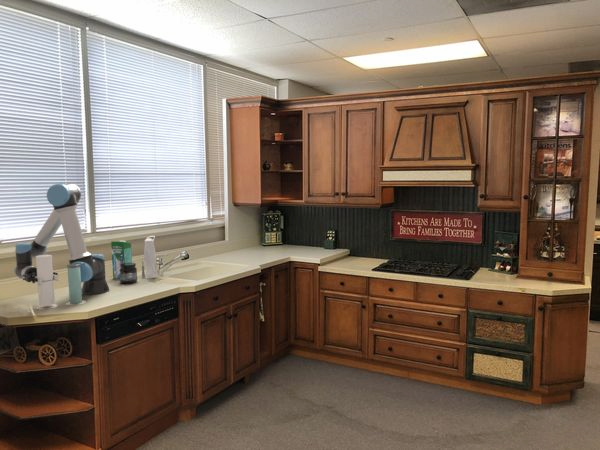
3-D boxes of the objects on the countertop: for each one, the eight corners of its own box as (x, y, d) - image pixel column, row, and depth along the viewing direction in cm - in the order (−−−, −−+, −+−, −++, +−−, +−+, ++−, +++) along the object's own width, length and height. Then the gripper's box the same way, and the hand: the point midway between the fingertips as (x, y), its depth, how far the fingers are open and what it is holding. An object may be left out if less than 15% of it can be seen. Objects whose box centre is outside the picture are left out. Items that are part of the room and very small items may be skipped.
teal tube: (81, 300, 262) (79, 263, 260) (83, 302, 257) (81, 265, 255) (68, 302, 259) (66, 264, 257) (70, 304, 253) (67, 266, 251)
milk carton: (132, 276, 333) (130, 239, 330) (125, 278, 324) (123, 241, 322) (120, 275, 335) (119, 239, 332) (113, 278, 326) (111, 241, 324)
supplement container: (128, 280, 320) (127, 262, 319) (141, 281, 316) (140, 263, 315) (116, 283, 311) (115, 264, 309) (129, 284, 306) (128, 265, 305)
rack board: (84, 301, 265) (84, 298, 265) (88, 306, 255) (88, 303, 255) (35, 308, 253) (35, 305, 252) (37, 313, 243) (37, 310, 243)
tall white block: (51, 305, 247) (48, 256, 244) (36, 306, 246) (33, 257, 244) (57, 302, 254) (54, 254, 251) (42, 302, 253) (39, 254, 251)
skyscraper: (152, 276, 334) (150, 235, 331) (159, 277, 328) (157, 236, 326) (141, 278, 327) (139, 236, 324) (148, 279, 322) (146, 237, 319)
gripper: (51, 277, 268) (70, 283, 253) (11, 284, 254) (28, 290, 238) (50, 264, 268) (69, 269, 253) (10, 269, 253) (27, 275, 238)
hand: (49, 279), depth 246 cm, fingers closed on tall white block, 7 cm apart
